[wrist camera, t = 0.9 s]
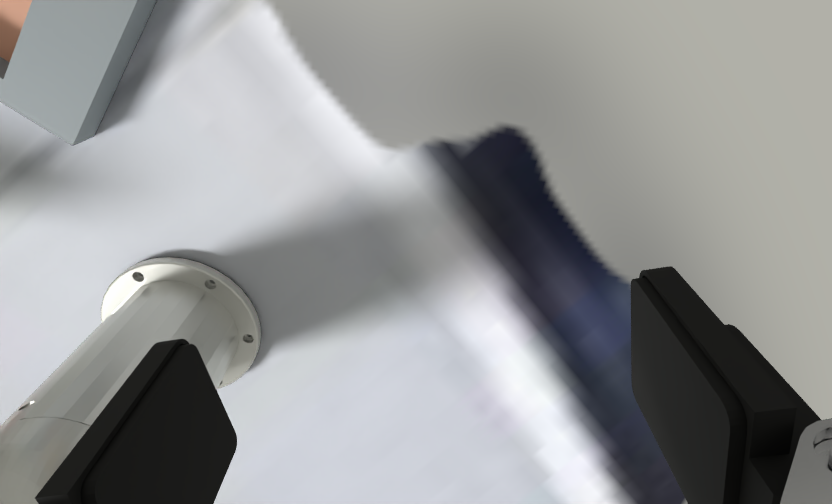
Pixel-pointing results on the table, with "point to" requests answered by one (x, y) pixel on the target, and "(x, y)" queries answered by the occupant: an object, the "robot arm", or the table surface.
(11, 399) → the table surface
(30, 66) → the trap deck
